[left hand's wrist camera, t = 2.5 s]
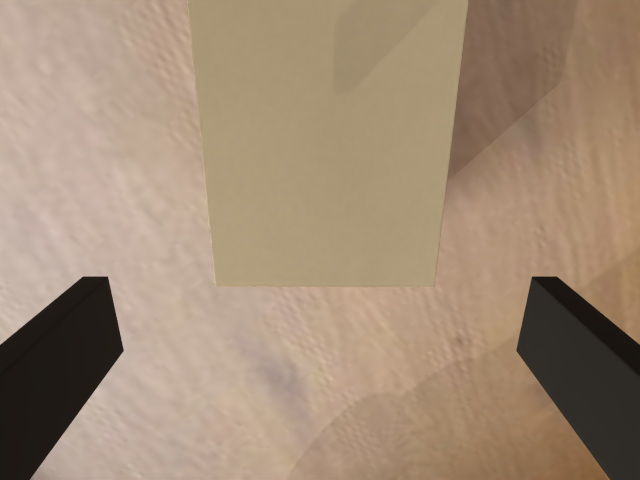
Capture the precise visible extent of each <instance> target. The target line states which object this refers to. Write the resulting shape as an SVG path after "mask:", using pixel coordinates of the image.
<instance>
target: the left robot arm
mask: <svg viewBox="0 0 640 480" xmlns="http://www.w3.org/2000/svg"><path fill="white" fill-rule="evenodd" d="M123 351H124V350H123V345H122V341H121V336H120V331H119V327H118V322H117V317H116V312H115V308H114V303H113V298H112V294H111V289H110V284H109V280H108V277H82V278H81V279H80V280H78V281H77V282H76V283H75V284H74V285H72V286H71V287H70V288H69V289H68V290H66V291H65V292H64V293H63V294H61V295H60V296H59V297H58V298H57V299H55V300H54V301H53V302H52V303H51V304H49V305H48V306H47V307H46V308H45V309H43V310H42V311H41V312H40V313H38V314H37V315H36V316H35V317H34V318H32V319H31V320H30V321H29V322H28V323H26V324H25V325H24V326H23V327H21V328H20V329H19V330H18V331H17V332H15V333H14V334H13V335H12V336H11V337H9V338H8V339H7V340H6V341H4V342H3V343H2V344H1V345H0V480H30V479H31V477H32V476H33V474H34V473H35V472H36V470H37V469H38V468H39V466H40V465H41V463H42V462H43V461H44V459H45V458H46V457H47V455H48V454H49V452H50V451H51V450H52V448H53V447H54V446H55V444H56V443H57V441H58V440H59V439H60V437H61V436H62V435H63V433H64V432H65V431H66V429H67V428H68V426H69V425H70V424H71V422H72V421H73V420H74V418H75V417H76V415H77V414H78V413H79V411H80V410H81V409H82V407H83V406H84V404H85V403H86V402H87V400H88V399H89V398H90V396H91V395H92V393H93V392H94V391H95V389H96V388H97V387H98V385H99V384H100V382H101V381H102V380H103V378H104V377H105V376H106V374H107V373H108V372H109V370H110V369H111V367H112V366H113V365H114V363H115V362H116V361H117V359H118V358H119V356H120V355H121V354H122V352H123ZM516 351H517V352H518V354H519V355H520V356H521V358H522V359H523V361H524V362H525V363H526V365H527V366H528V367H529V369H530V370H531V372H532V373H533V374H534V376H535V377H536V378H537V380H538V381H539V382H540V384H541V385H542V387H543V388H544V389H545V391H546V392H547V393H548V395H549V396H550V398H551V399H552V400H553V402H554V403H555V404H556V406H557V407H558V409H559V410H560V411H561V413H562V414H563V415H564V417H565V418H566V420H567V421H568V422H569V424H570V425H571V426H572V428H573V429H574V431H575V432H576V433H577V435H578V436H579V437H580V439H581V440H582V441H583V443H584V444H585V446H586V447H587V448H588V450H589V451H590V452H591V454H592V455H593V457H594V458H595V459H596V461H597V462H598V463H599V465H600V466H601V468H602V469H603V470H604V472H605V473H606V474H607V476H608V477H609V479H610V480H640V345H639V344H638V343H637V342H636V341H634V340H633V339H632V338H631V337H629V336H628V335H627V334H626V333H625V332H623V331H622V330H621V329H620V328H619V327H617V326H616V325H615V324H614V323H612V322H611V321H610V320H609V319H608V318H606V317H605V316H604V315H603V314H602V313H600V312H599V311H598V310H597V309H595V308H594V307H593V306H592V305H591V304H589V303H588V302H587V301H586V300H585V299H583V298H582V297H581V296H580V295H579V294H577V293H576V292H575V291H574V290H572V289H571V288H570V287H569V286H568V285H566V284H565V283H564V282H563V281H562V280H560V279H559V278H558V277H532V280H531V284H530V289H529V294H528V298H527V303H526V308H525V312H524V317H523V322H522V327H521V331H520V336H519V341H518V345H517V350H516Z"/></svg>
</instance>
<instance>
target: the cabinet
mask: <svg viewBox="0 0 640 480" xmlns="http://www.w3.org/2000/svg"><path fill="white" fill-rule="evenodd" d="M468 3H469V0H187V7H188V17H189V27H190V37H191V47H192V57H193V67H194V77H195V87H196V97H197V107H198V117H199V127H200V137H201V147H202V157H203V167H204V177H205V188H206V198H207V208H208V218H209V228H210V238H211V248H212V258H213V268H214V278H215V286H216V287H434V285H435V277H436V269H437V260H438V252H439V244H440V236H441V227H442V219H443V211H444V202H445V194H446V186H447V178H448V169H449V161H450V153H451V144H452V136H453V128H454V120H455V111H456V103H457V95H458V86H459V78H460V70H461V62H462V53H463V45H464V37H465V28H466V20H467V12H468Z"/></svg>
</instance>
